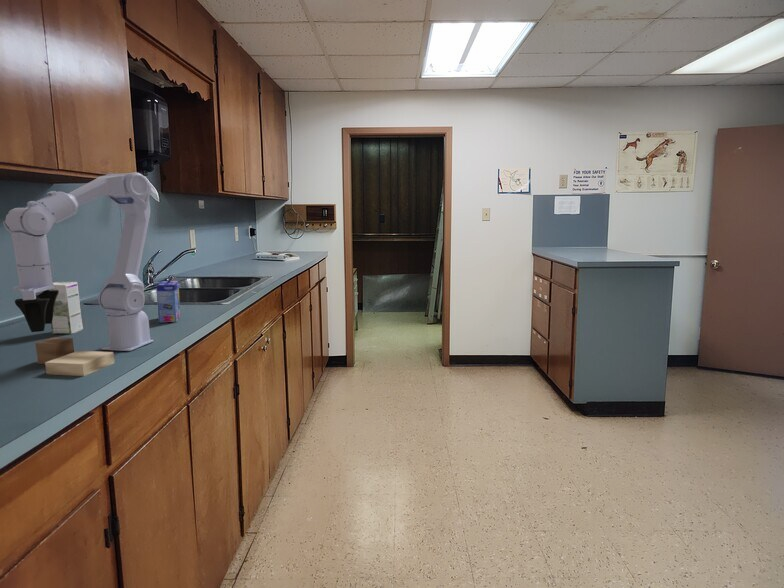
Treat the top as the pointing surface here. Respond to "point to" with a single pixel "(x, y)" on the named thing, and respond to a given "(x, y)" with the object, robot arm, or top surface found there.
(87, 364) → the maple block
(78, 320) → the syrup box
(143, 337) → the robot arm
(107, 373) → the top surface
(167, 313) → the ink cartridge box
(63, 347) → the walnut cube
